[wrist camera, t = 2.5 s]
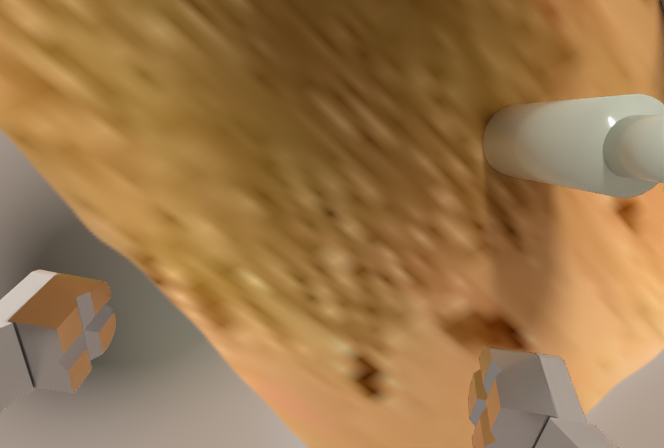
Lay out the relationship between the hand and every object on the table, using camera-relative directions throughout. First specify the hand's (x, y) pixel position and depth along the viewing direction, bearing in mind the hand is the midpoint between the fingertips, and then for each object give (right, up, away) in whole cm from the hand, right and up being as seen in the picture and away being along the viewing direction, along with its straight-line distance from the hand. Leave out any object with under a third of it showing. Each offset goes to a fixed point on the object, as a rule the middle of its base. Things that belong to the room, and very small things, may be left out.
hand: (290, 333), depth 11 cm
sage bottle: (+14, +8, +24) cm, 29 cm away
